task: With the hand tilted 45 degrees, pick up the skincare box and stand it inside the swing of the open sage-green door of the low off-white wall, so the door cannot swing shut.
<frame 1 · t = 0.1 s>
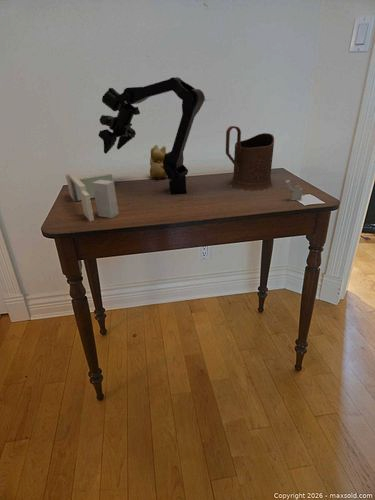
hand: (111, 150, 134), 15 cm above the table, tool tilted 35°, fingers open, 9 cm apart
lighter: (291, 200, 117), on the table
decorative figurine: (159, 178, 148), on the table
brown pitcher: (246, 185, 135), on the table
skincare box: (108, 215, 109), on the table
door: (92, 186, 124), point 4 cm above the table, hinge at 90.0°
wall frame: (81, 207, 116), on the table
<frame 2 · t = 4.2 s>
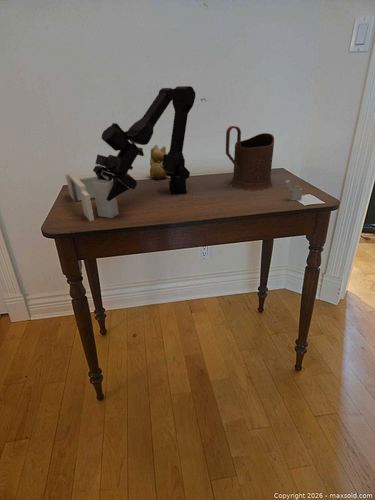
hand: (101, 198, 105), 7 cm above the table, tool tilted 45°, fingers closed on skincare box, 7 cm apart
skincare box: (108, 215, 109), on the table, touching gripper
everything else where it was.
when the fingers open (7 cm above the table, at t = 8.9 s): skincare box stays where it is, on the table.
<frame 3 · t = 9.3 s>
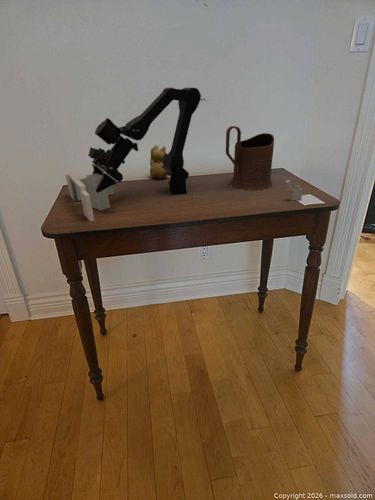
hand: (93, 188, 111), 8 cm above the table, tool tilted 45°, fingers open, 9 cm apart
skincare box: (101, 207, 116), on the table
everything else where it was.
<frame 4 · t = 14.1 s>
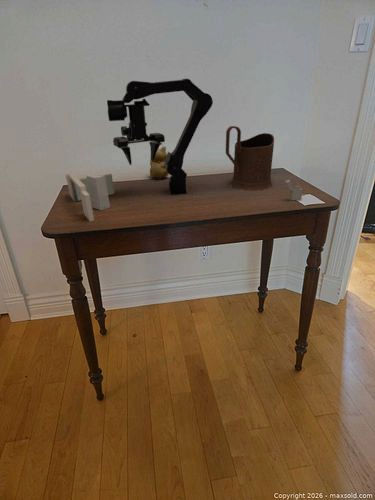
hand: (141, 162, 121), 13 cm above the table, tool pointing down, fingers open, 9 cm apart
nothing on the table moved.
at the end: skincare box 0.3 cm from the target spot, on the table; skincare box tilted 0°; door at +90° (first picture: +90°) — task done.
